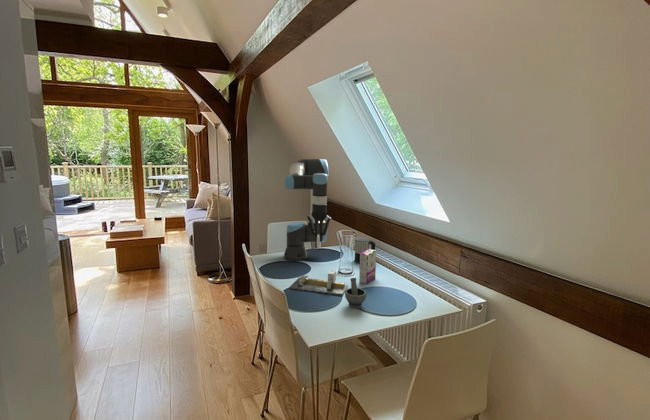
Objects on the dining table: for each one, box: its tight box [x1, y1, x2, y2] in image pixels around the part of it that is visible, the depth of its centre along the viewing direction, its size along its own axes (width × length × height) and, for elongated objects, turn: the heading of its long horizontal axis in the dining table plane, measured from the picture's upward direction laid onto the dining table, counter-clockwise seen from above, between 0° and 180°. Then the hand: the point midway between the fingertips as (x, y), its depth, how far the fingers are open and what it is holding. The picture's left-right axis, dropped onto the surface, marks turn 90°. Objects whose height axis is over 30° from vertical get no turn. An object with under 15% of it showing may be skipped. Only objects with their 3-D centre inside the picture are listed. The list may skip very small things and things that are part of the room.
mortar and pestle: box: [344, 277, 367, 310], centre depth 162 cm, size 11×9×12 cm
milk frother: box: [354, 237, 376, 264], centre depth 229 cm, size 14×16×15 cm
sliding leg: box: [326, 269, 337, 289], centre depth 180 cm, size 8×3×7 cm, turn 163°
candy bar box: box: [358, 248, 377, 285], centre depth 192 cm, size 11×5×16 cm, turn 147°
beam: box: [297, 275, 346, 288], centre depth 182 cm, size 7×25×3 cm, turn 73°
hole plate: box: [289, 278, 349, 297], centre depth 182 cm, size 12×28×1 cm, turn 73°
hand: (318, 247), depth 186 cm, fingers closed
